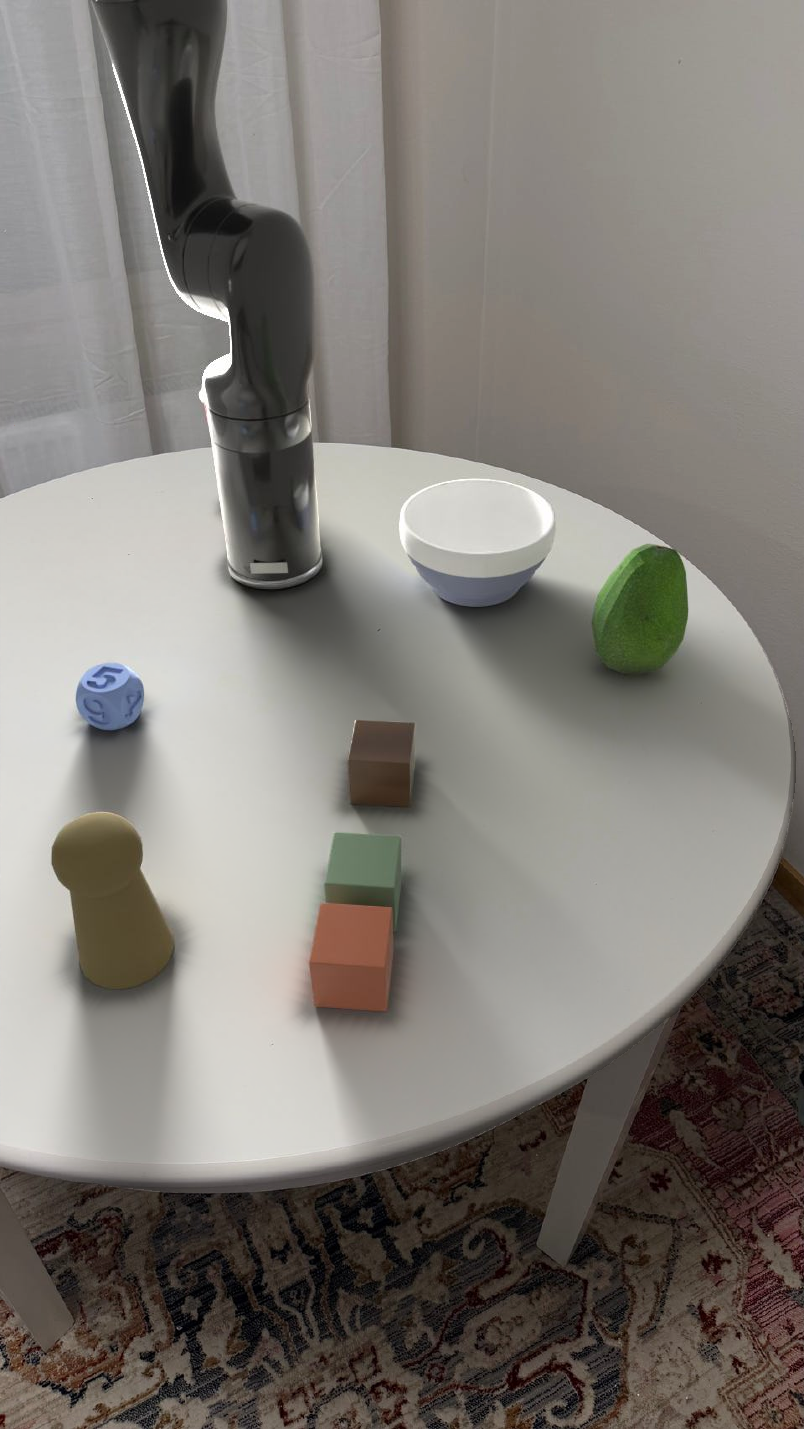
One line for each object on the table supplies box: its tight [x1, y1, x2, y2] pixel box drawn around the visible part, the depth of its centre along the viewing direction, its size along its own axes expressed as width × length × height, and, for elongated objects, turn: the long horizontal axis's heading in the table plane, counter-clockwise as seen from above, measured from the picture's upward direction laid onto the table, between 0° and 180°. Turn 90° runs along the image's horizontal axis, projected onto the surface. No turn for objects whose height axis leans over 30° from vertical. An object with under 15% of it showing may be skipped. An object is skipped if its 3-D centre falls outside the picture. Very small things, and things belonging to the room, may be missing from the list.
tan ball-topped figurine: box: [50, 811, 175, 990], centre depth 62 cm, size 6×6×11 cm
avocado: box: [591, 543, 689, 675], centre depth 84 cm, size 8×8×12 cm
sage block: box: [323, 831, 403, 933], centre depth 66 cm, size 4×4×4 cm
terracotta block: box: [308, 902, 395, 1013], centre depth 62 cm, size 4×4×4 cm
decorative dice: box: [75, 662, 145, 731], centre depth 82 cm, size 4×4×4 cm
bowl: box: [398, 478, 557, 608], centre depth 95 cm, size 14×14×8 cm
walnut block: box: [347, 719, 416, 808], centre depth 75 cm, size 4×4×4 cm
